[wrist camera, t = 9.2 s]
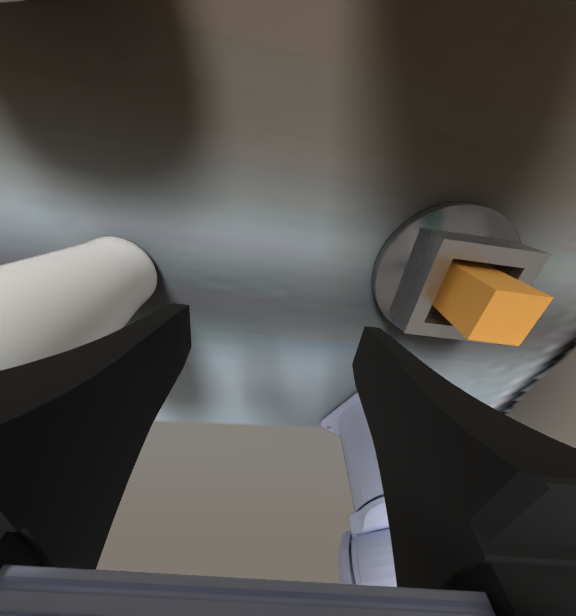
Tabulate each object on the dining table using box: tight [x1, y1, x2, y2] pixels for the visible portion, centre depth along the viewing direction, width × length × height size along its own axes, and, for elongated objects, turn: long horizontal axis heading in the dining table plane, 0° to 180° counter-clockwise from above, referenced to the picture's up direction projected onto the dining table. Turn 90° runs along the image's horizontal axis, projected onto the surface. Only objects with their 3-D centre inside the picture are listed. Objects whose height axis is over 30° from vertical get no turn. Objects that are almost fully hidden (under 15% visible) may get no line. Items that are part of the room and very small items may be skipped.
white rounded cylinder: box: [0, 236, 157, 371], centre depth 13 cm, size 7×7×15 cm
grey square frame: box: [372, 202, 551, 344], centre depth 18 cm, size 10×10×4 cm
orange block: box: [432, 258, 553, 346], centre depth 16 cm, size 3×3×6 cm
